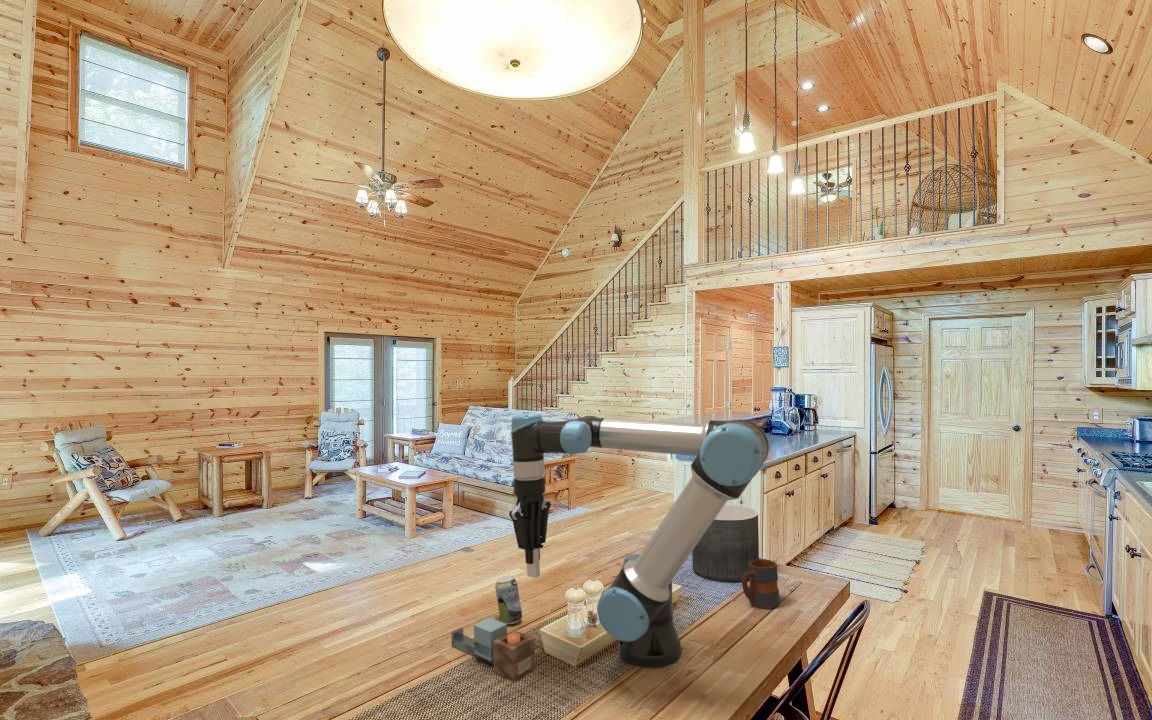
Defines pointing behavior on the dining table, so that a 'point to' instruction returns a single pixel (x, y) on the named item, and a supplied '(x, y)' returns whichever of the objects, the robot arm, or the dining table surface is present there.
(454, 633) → the rail
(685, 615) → the dining table surface
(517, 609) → the beverage can
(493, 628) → the carriage
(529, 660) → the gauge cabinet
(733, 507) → the planter
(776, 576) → the mug
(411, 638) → the dining table surface
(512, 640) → the orange rounded piece
